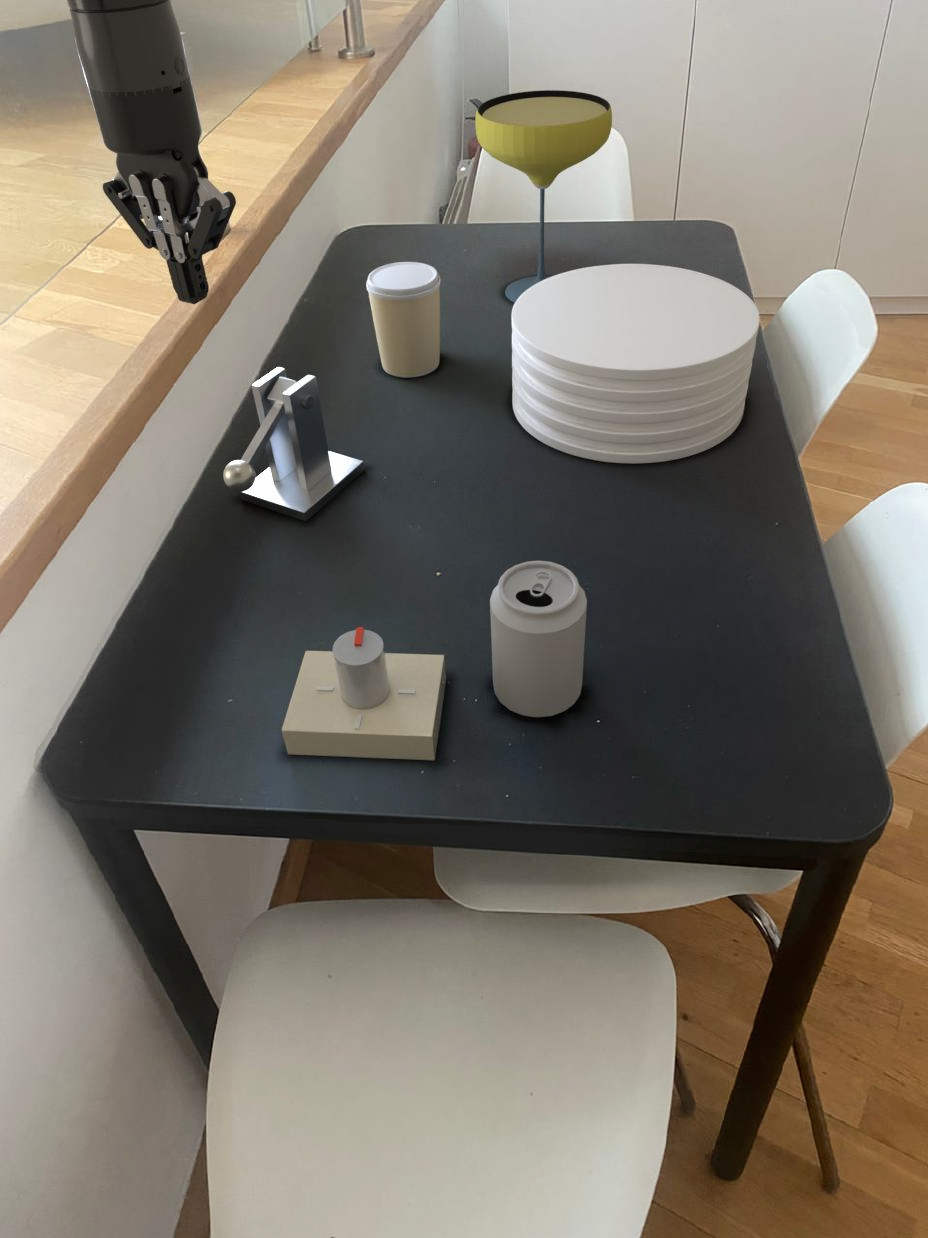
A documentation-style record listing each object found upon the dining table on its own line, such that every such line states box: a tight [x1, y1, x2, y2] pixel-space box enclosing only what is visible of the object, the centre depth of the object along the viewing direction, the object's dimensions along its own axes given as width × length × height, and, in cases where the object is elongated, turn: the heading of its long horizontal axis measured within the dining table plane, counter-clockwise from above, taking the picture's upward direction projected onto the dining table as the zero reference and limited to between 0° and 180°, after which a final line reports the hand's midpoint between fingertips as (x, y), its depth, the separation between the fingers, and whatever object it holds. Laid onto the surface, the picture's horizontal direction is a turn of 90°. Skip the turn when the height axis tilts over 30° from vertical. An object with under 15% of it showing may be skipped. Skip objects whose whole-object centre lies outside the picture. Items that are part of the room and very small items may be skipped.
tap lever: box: [222, 377, 298, 493], centre depth 94 cm, size 13×3×3 cm, turn 150°
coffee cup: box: [365, 261, 441, 378], centre depth 119 cm, size 9×9×12 cm
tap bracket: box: [238, 366, 365, 522], centre depth 99 cm, size 11×9×13 cm
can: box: [489, 560, 588, 718], centre depth 74 cm, size 8×8×12 cm
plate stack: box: [510, 263, 761, 464], centre depth 109 cm, size 28×28×12 cm
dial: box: [332, 626, 390, 709], centre depth 73 cm, size 4×4×5 cm
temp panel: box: [281, 650, 447, 761], centre depth 76 cm, size 12×9×3 cm
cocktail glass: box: [474, 89, 613, 304], centre depth 129 cm, size 18×18×25 cm
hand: (194, 299), depth 80 cm, fingers closed
